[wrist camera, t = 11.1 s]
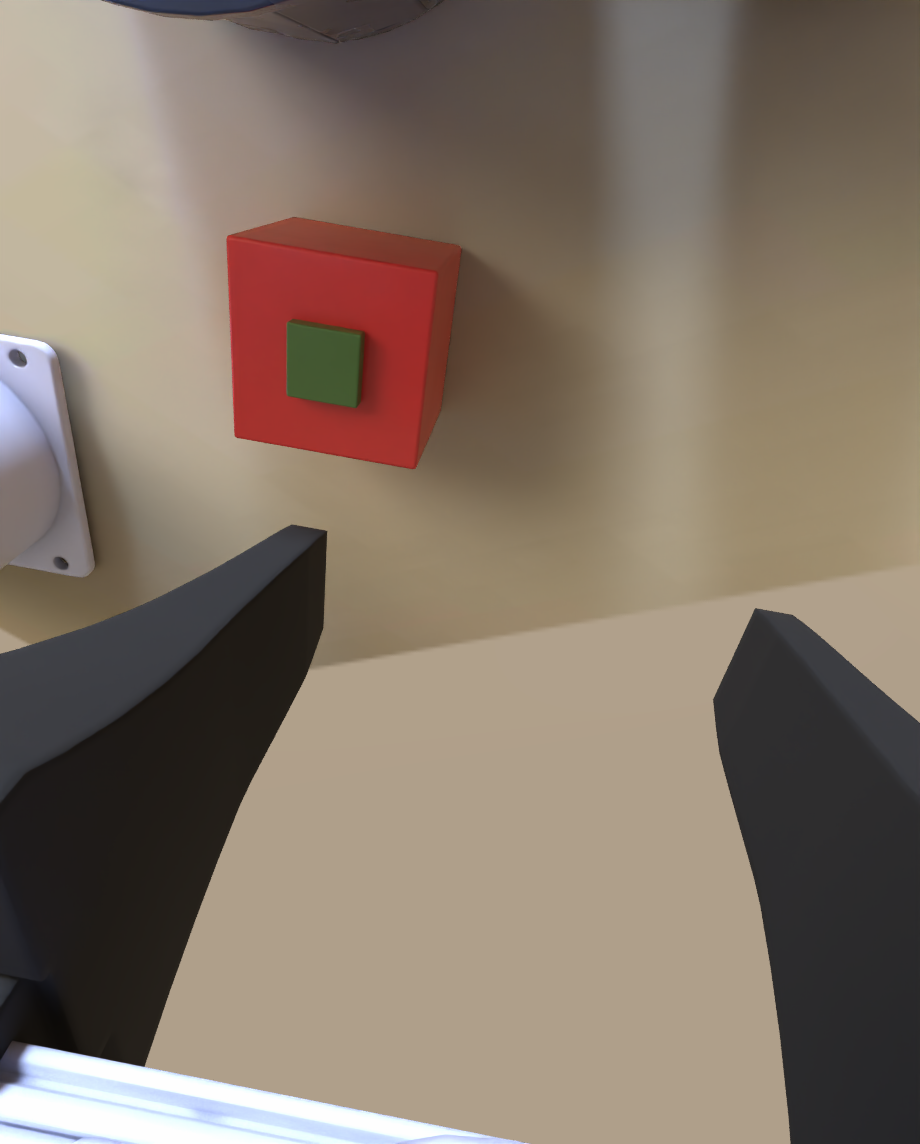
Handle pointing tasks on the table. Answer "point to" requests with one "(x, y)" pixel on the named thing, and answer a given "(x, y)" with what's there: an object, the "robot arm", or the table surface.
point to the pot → (338, 18)
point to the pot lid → (207, 7)
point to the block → (339, 338)
